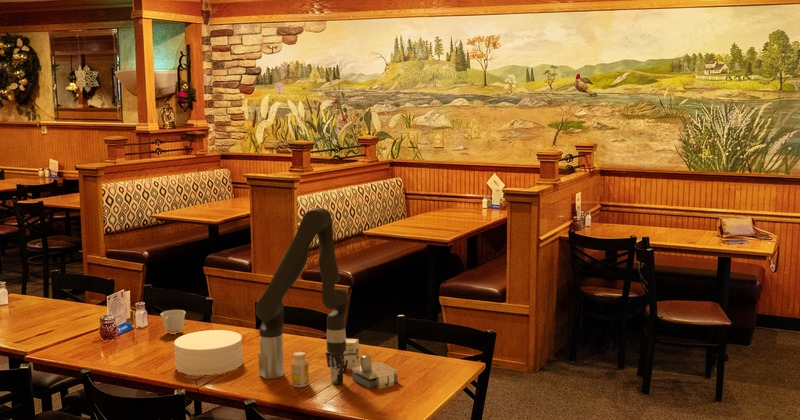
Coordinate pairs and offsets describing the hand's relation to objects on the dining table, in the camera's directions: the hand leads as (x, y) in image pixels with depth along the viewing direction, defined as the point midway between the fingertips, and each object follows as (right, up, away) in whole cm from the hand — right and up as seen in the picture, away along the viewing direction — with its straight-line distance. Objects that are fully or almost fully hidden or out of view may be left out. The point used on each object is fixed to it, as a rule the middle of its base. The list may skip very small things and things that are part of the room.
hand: (337, 380), depth 334 cm
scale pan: (+15, +2, +1) cm, 15 cm away
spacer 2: (+12, +4, -1) cm, 12 cm away
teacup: (-84, +8, +72) cm, 111 cm away
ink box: (+3, +2, +19) cm, 19 cm away
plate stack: (-56, +1, +25) cm, 61 cm away
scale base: (+16, -1, +1) cm, 16 cm away
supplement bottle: (-14, -2, -1) cm, 15 cm away
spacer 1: (0, -1, 0) cm, 1 cm away
